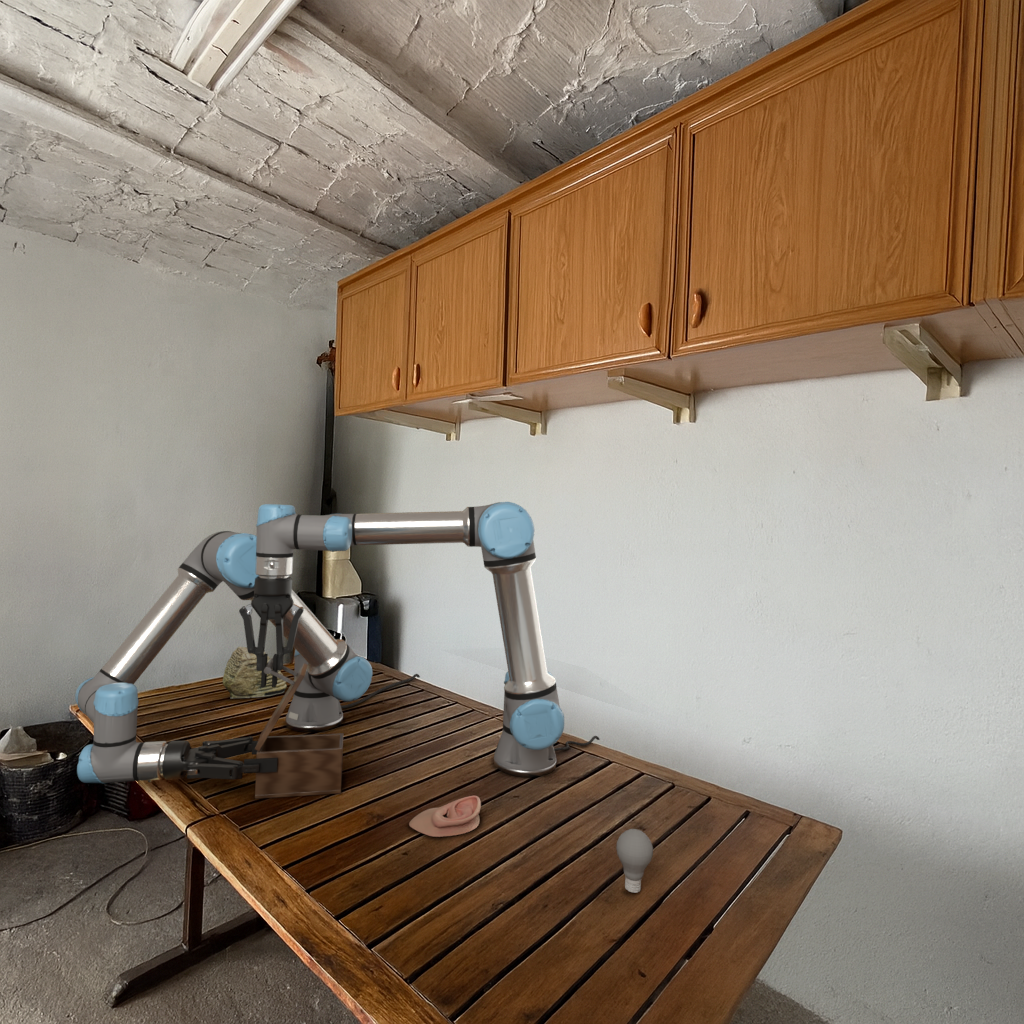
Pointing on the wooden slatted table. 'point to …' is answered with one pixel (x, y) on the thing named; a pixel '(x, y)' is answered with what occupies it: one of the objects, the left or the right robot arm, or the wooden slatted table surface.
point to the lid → (285, 699)
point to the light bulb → (634, 857)
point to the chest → (301, 766)
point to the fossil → (248, 677)
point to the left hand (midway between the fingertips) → (280, 755)
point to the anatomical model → (449, 818)
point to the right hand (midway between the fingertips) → (269, 685)
